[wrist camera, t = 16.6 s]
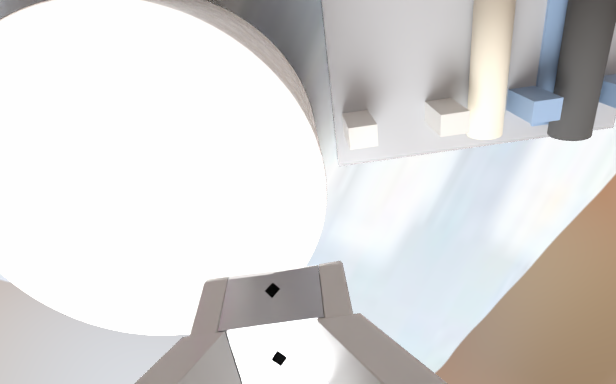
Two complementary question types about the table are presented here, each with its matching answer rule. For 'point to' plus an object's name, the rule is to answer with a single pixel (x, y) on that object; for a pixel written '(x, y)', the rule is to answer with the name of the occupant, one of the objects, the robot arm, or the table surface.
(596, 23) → the dark gray rod
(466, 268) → the table surface
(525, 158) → the table surface
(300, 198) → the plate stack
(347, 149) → the rod display rack
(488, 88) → the rod
